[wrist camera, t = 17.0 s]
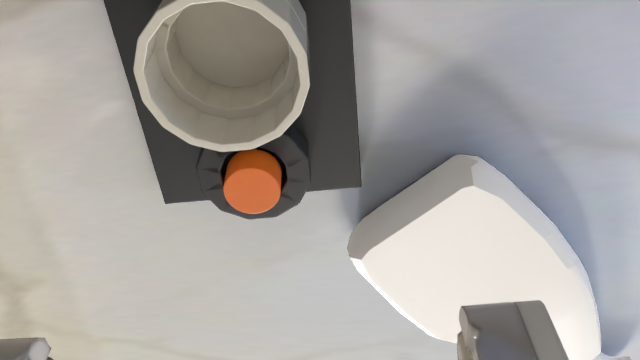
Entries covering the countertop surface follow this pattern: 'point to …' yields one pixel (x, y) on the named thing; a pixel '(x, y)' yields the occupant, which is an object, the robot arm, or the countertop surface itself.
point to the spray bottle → (474, 255)
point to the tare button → (252, 181)
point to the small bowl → (224, 70)
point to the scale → (289, 149)
